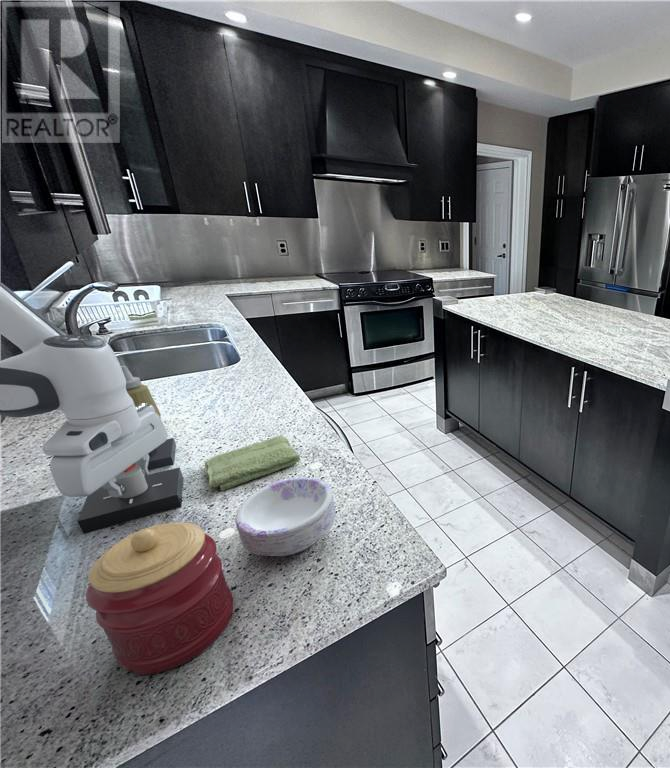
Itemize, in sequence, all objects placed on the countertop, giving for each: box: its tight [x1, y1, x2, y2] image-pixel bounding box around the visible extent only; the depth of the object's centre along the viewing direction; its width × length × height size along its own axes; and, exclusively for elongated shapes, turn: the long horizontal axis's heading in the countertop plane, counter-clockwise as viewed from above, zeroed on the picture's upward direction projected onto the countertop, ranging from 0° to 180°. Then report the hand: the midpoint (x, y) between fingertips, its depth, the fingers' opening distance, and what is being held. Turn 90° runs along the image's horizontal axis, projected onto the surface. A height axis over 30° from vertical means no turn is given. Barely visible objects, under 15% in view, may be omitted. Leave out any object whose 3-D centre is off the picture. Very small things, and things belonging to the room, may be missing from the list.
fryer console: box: [76, 467, 184, 535], centre depth 80 cm, size 14×11×3 cm
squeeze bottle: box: [120, 365, 162, 418], centre depth 103 cm, size 8×8×18 cm
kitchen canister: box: [85, 522, 234, 675], centre depth 54 cm, size 13×13×18 cm
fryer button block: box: [131, 437, 177, 471], centre depth 93 cm, size 12×10×4 cm
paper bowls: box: [234, 476, 337, 557], centre depth 72 cm, size 15×15×8 cm
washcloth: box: [204, 435, 301, 491], centre depth 93 cm, size 13×18×3 cm
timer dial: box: [114, 465, 148, 498], centre depth 78 cm, size 4×4×5 cm
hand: (130, 485), depth 79 cm, fingers closed on timer dial, 4 cm apart
